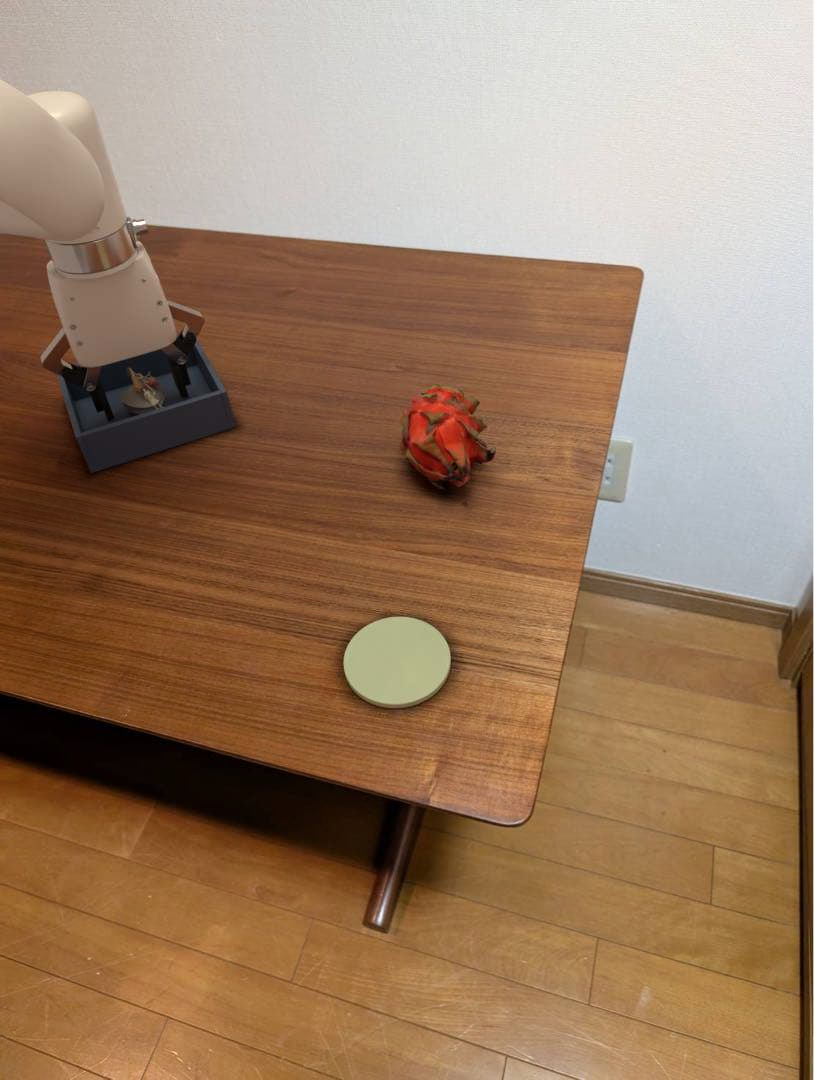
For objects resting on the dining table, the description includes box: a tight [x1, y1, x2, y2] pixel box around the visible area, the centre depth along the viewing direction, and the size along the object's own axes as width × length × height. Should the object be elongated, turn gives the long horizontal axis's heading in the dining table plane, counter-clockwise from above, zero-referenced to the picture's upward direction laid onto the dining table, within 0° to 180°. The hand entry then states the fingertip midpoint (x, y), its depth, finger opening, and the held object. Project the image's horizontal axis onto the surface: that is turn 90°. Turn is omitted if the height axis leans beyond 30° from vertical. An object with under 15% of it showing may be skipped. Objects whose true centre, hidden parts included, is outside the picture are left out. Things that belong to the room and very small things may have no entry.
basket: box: [55, 334, 236, 474], centre depth 88 cm, size 15×13×5 cm
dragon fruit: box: [399, 383, 497, 491], centre depth 79 cm, size 8×8×12 cm
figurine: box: [120, 367, 166, 415], centre depth 87 cm, size 5×4×6 cm
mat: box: [343, 616, 452, 709], centre depth 65 cm, size 8×8×1 cm
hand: (145, 401), depth 89 cm, fingers open, 7 cm apart
